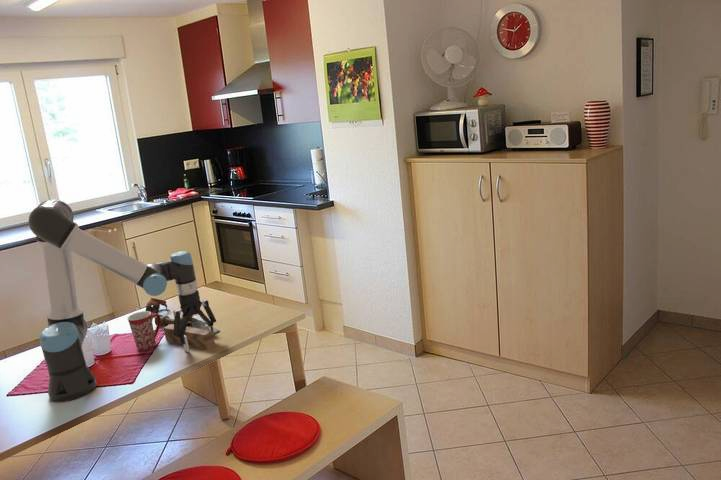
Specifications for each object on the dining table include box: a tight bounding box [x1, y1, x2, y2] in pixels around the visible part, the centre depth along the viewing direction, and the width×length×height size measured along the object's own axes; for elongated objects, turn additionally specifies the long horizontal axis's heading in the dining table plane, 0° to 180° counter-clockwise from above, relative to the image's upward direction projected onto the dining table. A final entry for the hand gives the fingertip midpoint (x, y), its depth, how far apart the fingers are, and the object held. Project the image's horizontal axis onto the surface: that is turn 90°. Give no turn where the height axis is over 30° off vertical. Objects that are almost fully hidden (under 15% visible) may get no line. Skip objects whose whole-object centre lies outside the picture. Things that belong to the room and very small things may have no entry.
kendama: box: [154, 313, 194, 327], centre depth 253 cm, size 6×10×20 cm
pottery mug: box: [145, 297, 168, 315], centre depth 273 cm, size 12×10×8 cm
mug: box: [126, 310, 161, 351], centre depth 236 cm, size 13×9×14 cm
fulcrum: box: [191, 314, 221, 335], centre depth 243 cm, size 8×12×6 cm, turn 44°
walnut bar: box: [163, 324, 216, 350], centre depth 234 cm, size 24×4×6 cm, turn 57°
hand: (199, 346), depth 230 cm, fingers open, 10 cm apart
